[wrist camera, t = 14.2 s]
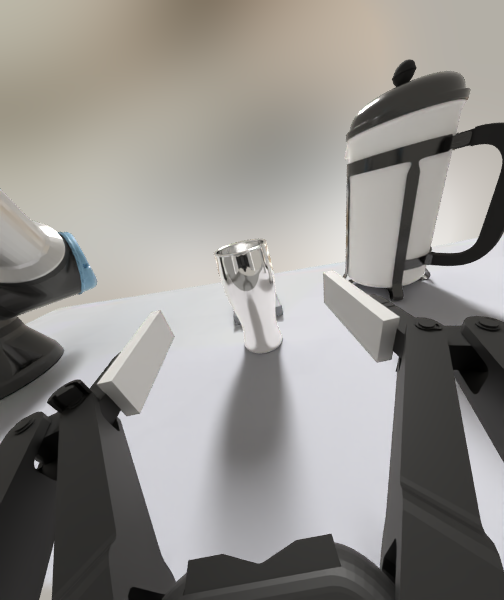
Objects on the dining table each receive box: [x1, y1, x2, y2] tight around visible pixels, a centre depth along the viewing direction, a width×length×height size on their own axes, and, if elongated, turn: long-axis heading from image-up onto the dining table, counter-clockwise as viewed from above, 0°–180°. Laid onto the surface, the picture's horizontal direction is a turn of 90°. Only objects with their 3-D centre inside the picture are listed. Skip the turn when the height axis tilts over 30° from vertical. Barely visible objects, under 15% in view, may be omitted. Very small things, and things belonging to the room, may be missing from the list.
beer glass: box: [214, 239, 282, 354], centre depth 26 cm, size 7×7×15 cm
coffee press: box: [343, 60, 504, 301], centre depth 29 cm, size 17×16×30 cm
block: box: [234, 294, 283, 325], centre depth 38 cm, size 2×9×8 cm
